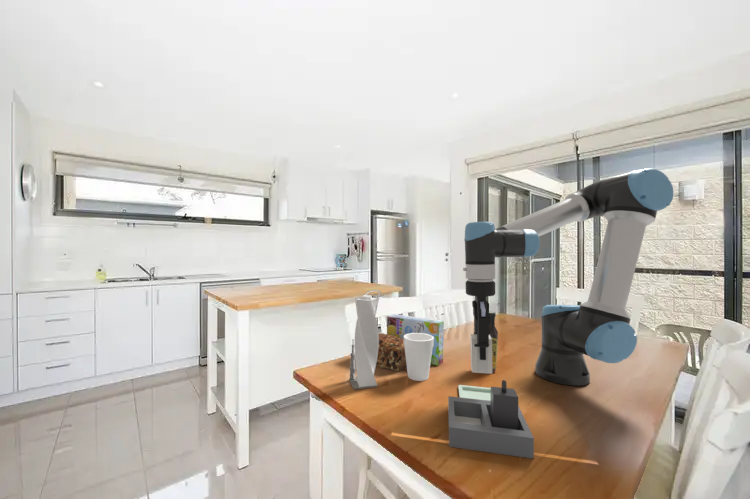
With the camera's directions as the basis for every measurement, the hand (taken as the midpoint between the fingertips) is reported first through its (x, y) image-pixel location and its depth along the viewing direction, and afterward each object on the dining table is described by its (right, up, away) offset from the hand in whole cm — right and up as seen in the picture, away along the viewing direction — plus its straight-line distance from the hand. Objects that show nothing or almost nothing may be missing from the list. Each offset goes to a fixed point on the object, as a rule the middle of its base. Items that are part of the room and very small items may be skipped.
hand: (481, 367), depth 84 cm
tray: (-1, -9, 0) cm, 9 cm away
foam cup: (-15, -9, +15) cm, 23 cm away
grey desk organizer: (-4, -9, -14) cm, 17 cm away
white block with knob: (0, -1, 0) cm, 1 cm away
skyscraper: (-31, -9, +10) cm, 34 cm away
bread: (-25, -9, +28) cm, 39 cm away
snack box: (-14, -9, +33) cm, 37 cm away
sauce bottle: (+9, -9, +22) cm, 25 cm away
